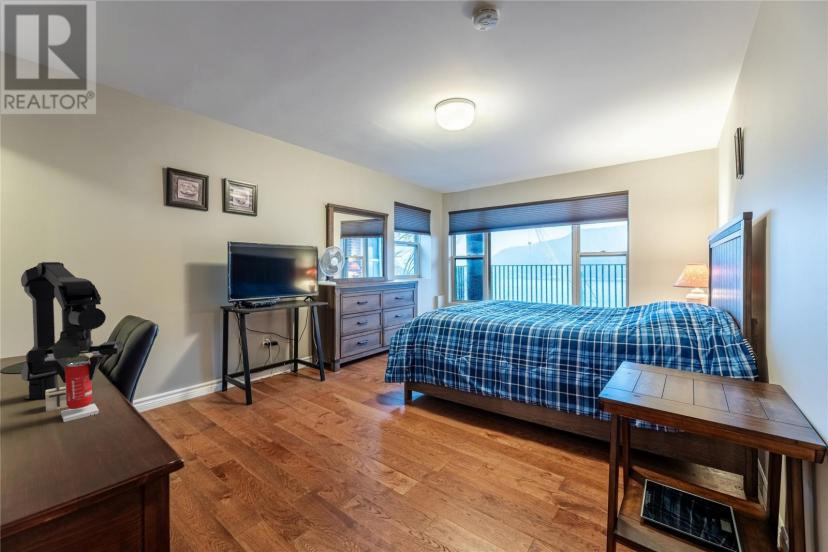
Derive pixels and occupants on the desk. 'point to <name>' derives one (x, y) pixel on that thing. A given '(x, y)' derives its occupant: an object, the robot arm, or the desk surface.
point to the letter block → (55, 398)
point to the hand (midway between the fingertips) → (78, 381)
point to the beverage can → (78, 385)
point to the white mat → (79, 412)
